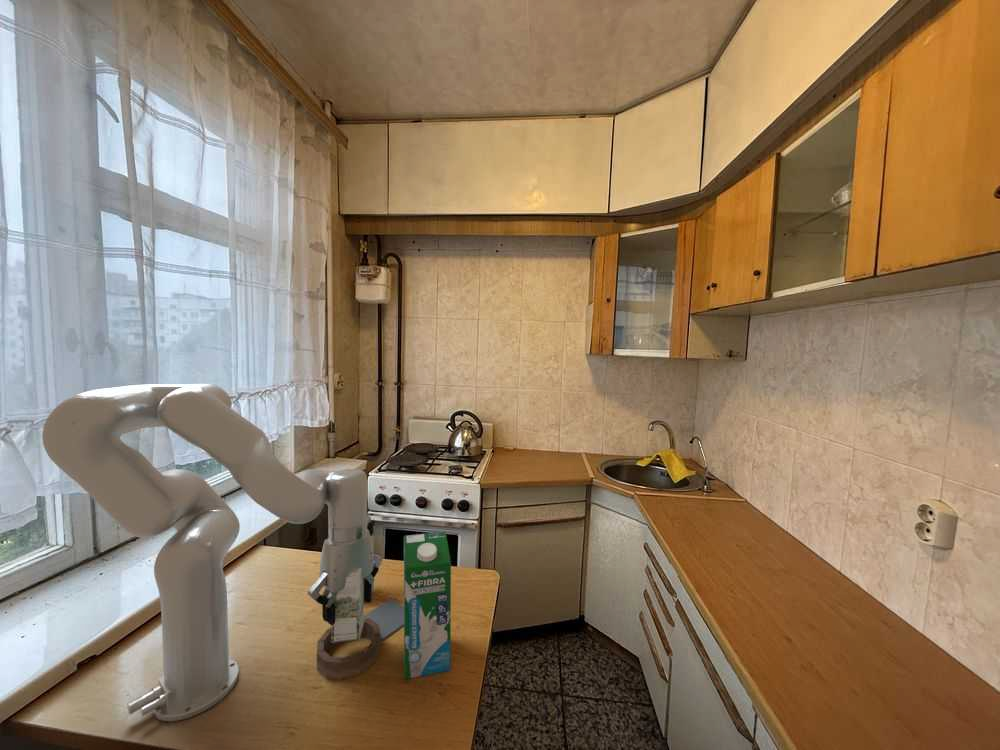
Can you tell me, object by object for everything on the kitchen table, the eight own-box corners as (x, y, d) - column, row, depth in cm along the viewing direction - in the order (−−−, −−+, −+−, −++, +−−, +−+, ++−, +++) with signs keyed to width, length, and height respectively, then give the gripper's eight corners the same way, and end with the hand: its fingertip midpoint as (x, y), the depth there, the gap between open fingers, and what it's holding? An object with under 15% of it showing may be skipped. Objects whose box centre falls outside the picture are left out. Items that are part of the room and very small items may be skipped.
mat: (382, 640, 83) (382, 639, 83) (356, 621, 89) (356, 620, 89) (416, 615, 91) (416, 614, 91) (390, 599, 97) (390, 598, 97)
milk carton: (404, 680, 73) (404, 556, 72) (403, 645, 82) (403, 535, 81) (450, 670, 76) (451, 550, 74) (445, 637, 84) (445, 530, 83)
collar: (338, 690, 71) (338, 671, 71) (305, 658, 78) (305, 641, 78) (392, 649, 81) (392, 632, 81) (358, 624, 88) (358, 609, 88)
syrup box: (364, 621, 83) (364, 558, 82) (359, 641, 77) (359, 573, 76) (337, 624, 82) (337, 560, 81) (330, 645, 76) (330, 575, 75)
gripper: (372, 511, 87) (372, 584, 88) (296, 540, 73) (297, 626, 74) (393, 520, 83) (393, 596, 84) (316, 552, 69) (317, 644, 70)
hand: (348, 610), depth 79 cm, fingers closed on syrup box, 7 cm apart
